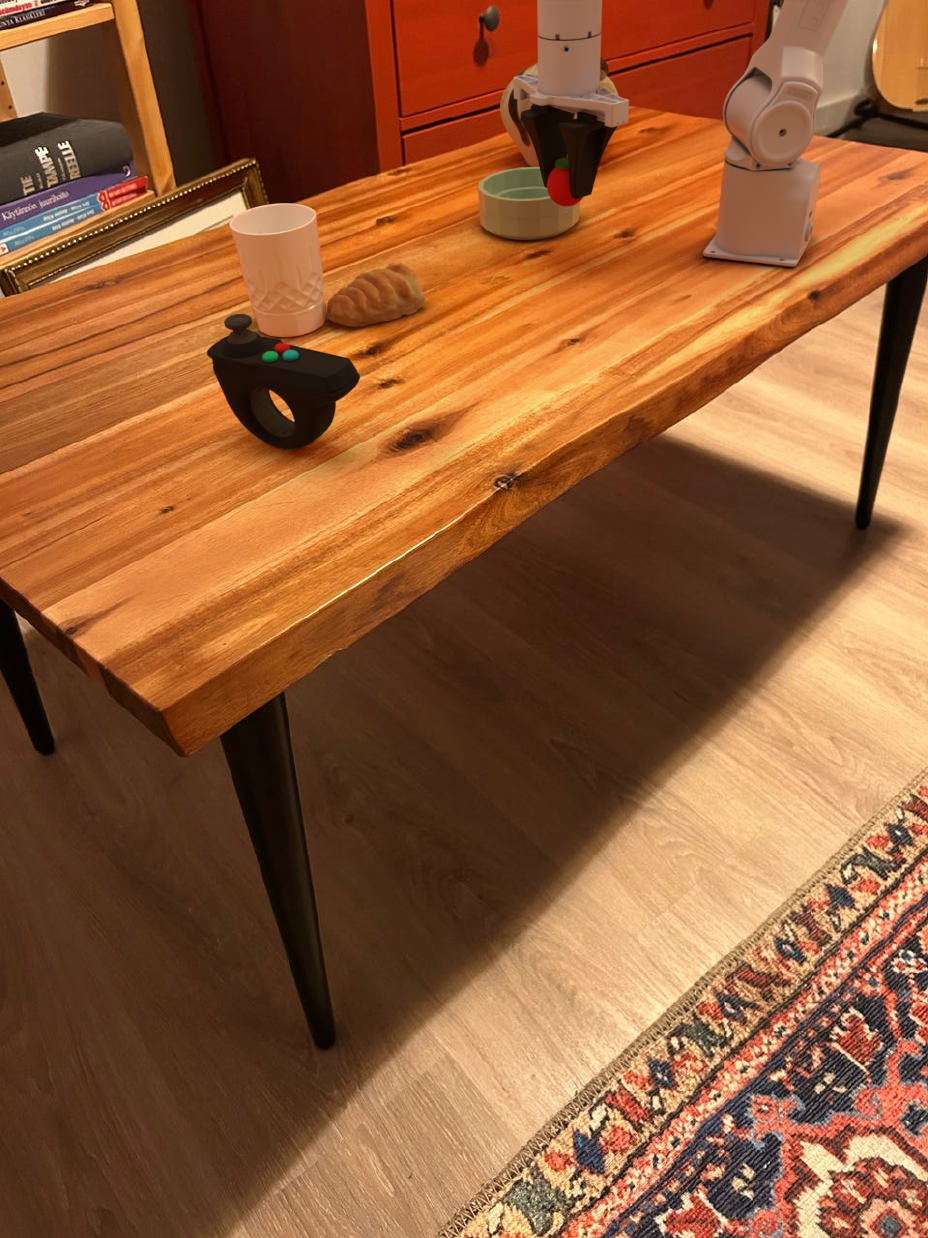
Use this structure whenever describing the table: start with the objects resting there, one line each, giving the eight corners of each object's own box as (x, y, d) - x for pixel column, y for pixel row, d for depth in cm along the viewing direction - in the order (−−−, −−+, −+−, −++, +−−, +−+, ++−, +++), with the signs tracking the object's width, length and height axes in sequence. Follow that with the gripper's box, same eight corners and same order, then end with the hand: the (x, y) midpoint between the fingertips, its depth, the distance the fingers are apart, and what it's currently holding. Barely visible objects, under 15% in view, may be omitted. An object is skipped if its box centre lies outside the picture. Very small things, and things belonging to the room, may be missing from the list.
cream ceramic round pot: (559, 133, 136) (560, 8, 126) (649, 149, 128) (658, 18, 118) (467, 172, 125) (460, 40, 115) (559, 193, 117) (560, 53, 107)
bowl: (592, 211, 112) (594, 171, 109) (557, 247, 105) (557, 204, 102) (504, 202, 116) (503, 163, 113) (464, 236, 109) (461, 194, 106)
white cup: (345, 309, 96) (330, 205, 89) (311, 344, 90) (292, 236, 84) (275, 302, 98) (255, 200, 92) (237, 336, 93) (213, 231, 86)
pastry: (352, 339, 91) (346, 299, 88) (314, 318, 95) (307, 280, 92) (431, 308, 95) (427, 269, 92) (391, 289, 99) (387, 251, 97)
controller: (253, 416, 81) (226, 301, 74) (377, 447, 76) (360, 327, 70) (220, 441, 78) (190, 324, 72) (346, 475, 73) (326, 353, 67)
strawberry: (592, 200, 98) (593, 156, 95) (578, 214, 95) (579, 169, 92) (555, 196, 99) (555, 153, 96) (541, 210, 96) (540, 165, 94)
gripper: (486, 30, 90) (491, 182, 99) (587, 53, 81) (583, 219, 90) (545, 17, 93) (545, 166, 102) (650, 38, 84) (640, 200, 93)
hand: (567, 190), depth 96 cm, fingers closed on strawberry, 4 cm apart
